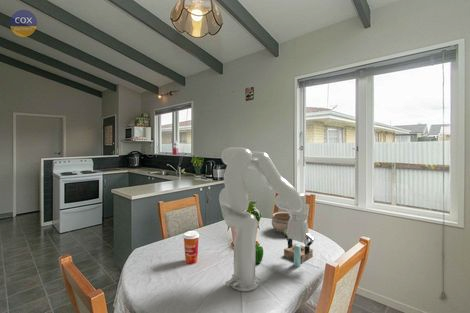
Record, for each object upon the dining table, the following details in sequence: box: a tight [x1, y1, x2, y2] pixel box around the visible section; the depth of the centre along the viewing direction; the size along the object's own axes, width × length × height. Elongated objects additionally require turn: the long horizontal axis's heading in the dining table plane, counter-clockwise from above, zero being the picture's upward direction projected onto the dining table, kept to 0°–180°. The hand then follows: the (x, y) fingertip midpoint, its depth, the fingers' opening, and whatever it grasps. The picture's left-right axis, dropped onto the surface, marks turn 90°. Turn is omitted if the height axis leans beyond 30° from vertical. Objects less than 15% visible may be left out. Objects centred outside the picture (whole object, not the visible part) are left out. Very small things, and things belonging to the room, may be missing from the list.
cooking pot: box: [271, 211, 290, 235], centre depth 167 cm, size 25×19×12 cm
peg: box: [293, 244, 302, 268], centre depth 121 cm, size 3×3×10 cm
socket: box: [283, 243, 314, 264], centre depth 131 cm, size 11×11×4 cm
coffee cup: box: [182, 230, 200, 265], centre depth 125 cm, size 8×8×15 cm
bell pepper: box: [255, 242, 264, 265], centre depth 125 cm, size 8×8×10 cm
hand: (298, 250), depth 122 cm, fingers open, 9 cm apart
